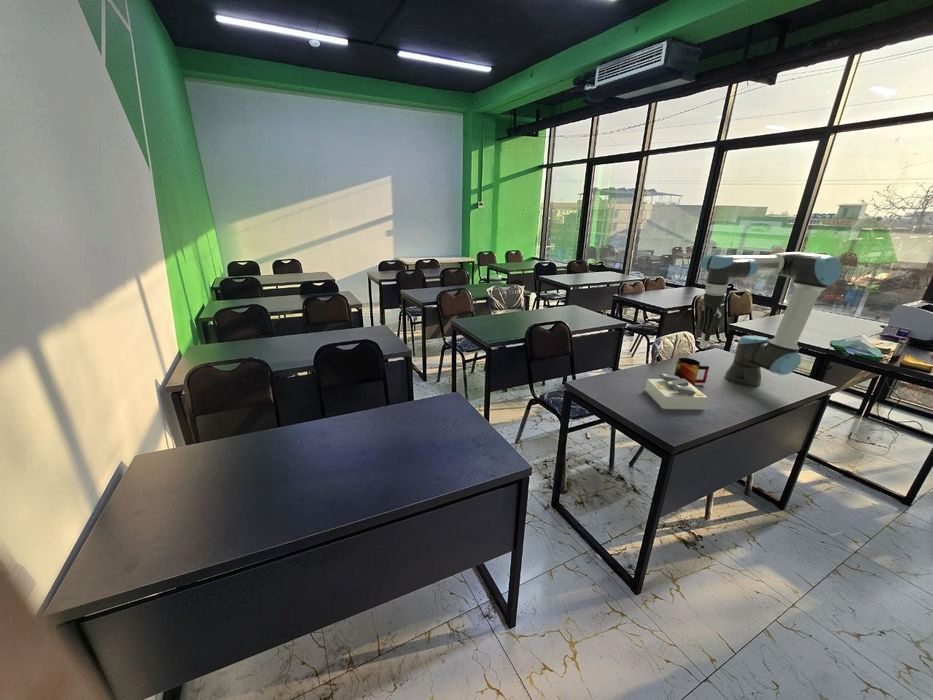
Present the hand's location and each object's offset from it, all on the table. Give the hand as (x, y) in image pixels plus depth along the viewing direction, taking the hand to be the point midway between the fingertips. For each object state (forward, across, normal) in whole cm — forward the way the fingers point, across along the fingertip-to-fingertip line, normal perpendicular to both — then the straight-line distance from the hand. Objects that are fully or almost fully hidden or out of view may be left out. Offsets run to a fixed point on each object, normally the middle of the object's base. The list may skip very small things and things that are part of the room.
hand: (703, 347), depth 171 cm
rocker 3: (+17, +7, -9) cm, 20 cm away
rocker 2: (+17, +1, -9) cm, 19 cm away
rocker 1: (+17, -5, -9) cm, 20 cm away
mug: (+26, -17, +7) cm, 32 cm away
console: (+25, +1, -9) cm, 27 cm away
